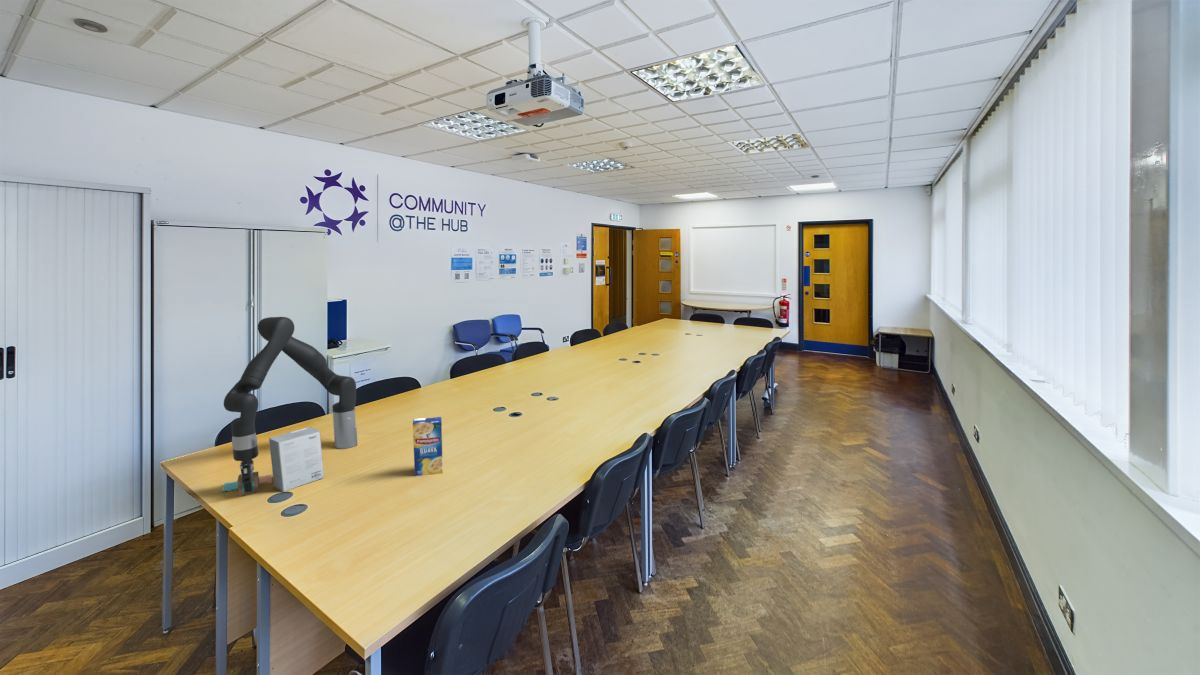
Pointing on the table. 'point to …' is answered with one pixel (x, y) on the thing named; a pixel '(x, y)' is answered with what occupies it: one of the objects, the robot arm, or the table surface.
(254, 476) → the cube
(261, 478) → the pad terracotta
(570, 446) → the table surface
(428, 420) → the blue food box
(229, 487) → the pad teal
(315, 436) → the hard drive box
